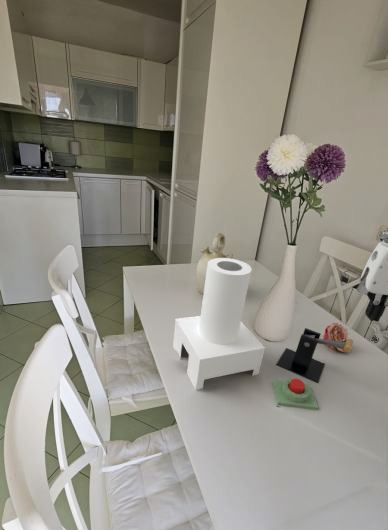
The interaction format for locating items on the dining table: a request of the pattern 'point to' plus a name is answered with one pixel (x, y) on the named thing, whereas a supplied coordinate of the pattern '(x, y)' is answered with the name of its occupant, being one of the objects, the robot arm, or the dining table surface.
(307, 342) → the bracket
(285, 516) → the dining table surface
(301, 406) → the button block
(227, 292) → the paper towel holder
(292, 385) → the button
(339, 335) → the flower
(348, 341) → the lever
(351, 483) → the dining table surface
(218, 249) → the jug
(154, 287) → the dining table surface
